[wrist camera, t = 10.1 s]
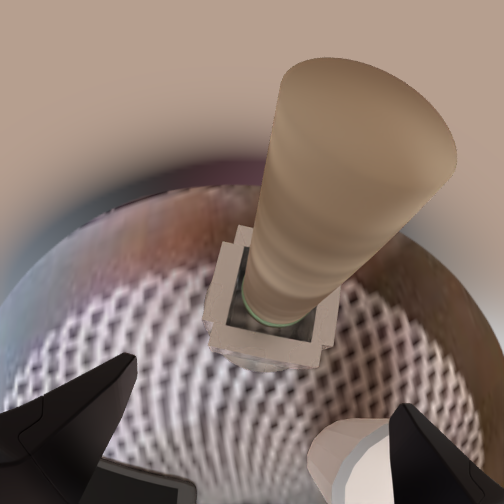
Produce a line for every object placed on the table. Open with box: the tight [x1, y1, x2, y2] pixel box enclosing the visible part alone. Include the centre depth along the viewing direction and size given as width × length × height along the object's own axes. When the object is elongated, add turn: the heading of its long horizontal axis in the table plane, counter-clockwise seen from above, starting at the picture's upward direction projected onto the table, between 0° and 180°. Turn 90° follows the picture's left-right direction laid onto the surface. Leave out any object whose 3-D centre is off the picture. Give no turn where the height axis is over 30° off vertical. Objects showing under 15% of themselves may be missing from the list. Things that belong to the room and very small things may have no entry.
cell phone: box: [78, 458, 197, 504], centre depth 13 cm, size 7×14×1 cm, turn 83°
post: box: [241, 58, 457, 328], centre depth 10 cm, size 4×4×12 cm
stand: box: [202, 225, 341, 372], centre depth 18 cm, size 8×8×5 cm
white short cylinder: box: [307, 418, 394, 504], centre depth 13 cm, size 7×7×7 cm
